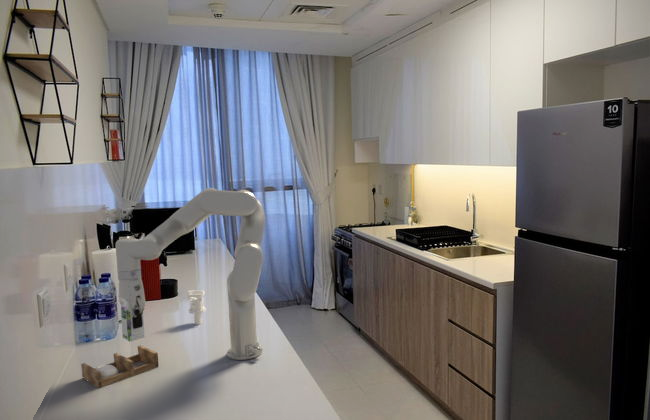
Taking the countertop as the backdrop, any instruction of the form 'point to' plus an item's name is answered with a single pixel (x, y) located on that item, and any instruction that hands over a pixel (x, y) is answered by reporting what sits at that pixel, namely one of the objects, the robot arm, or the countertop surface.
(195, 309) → the white slotted cylinder
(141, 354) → the rack
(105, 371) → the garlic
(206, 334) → the countertop surface
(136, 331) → the syrup box
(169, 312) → the countertop surface
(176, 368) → the countertop surface
